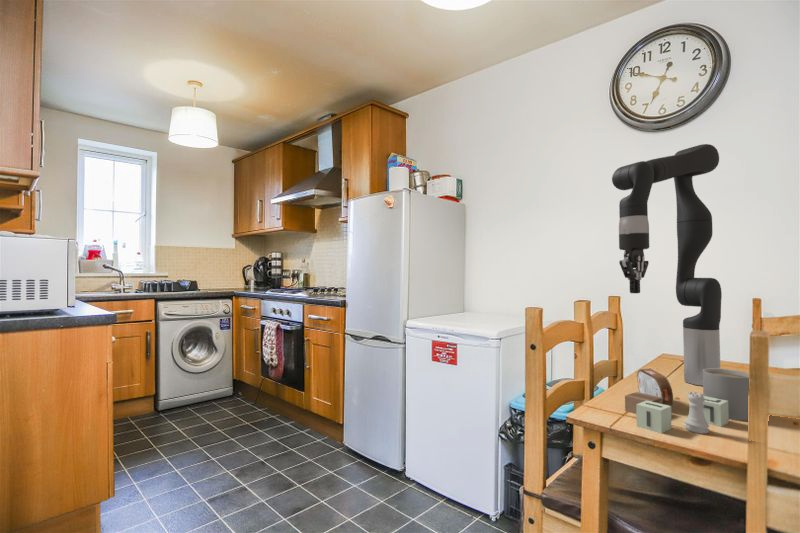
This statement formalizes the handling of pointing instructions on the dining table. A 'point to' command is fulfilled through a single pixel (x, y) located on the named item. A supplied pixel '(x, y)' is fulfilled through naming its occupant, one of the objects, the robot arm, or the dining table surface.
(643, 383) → the tin
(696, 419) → the rook chess piece
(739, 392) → the coffee mug
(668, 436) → the dining table surface
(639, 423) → the numbered block one
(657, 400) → the walnut block
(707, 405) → the numbered block seven
